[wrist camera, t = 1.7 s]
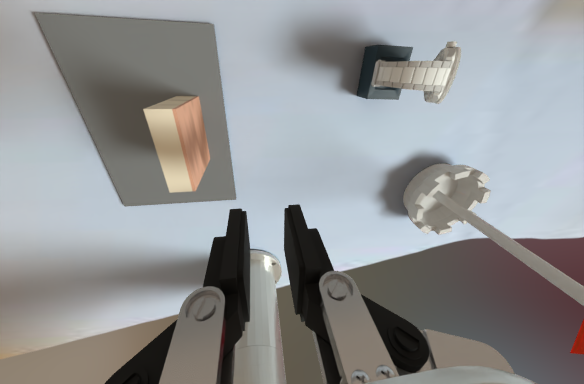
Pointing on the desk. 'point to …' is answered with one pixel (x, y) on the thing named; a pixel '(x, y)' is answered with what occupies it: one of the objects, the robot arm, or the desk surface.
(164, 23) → the mat
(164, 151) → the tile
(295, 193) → the desk surface
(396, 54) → the watch
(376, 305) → the robot arm
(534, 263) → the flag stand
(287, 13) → the desk surface
